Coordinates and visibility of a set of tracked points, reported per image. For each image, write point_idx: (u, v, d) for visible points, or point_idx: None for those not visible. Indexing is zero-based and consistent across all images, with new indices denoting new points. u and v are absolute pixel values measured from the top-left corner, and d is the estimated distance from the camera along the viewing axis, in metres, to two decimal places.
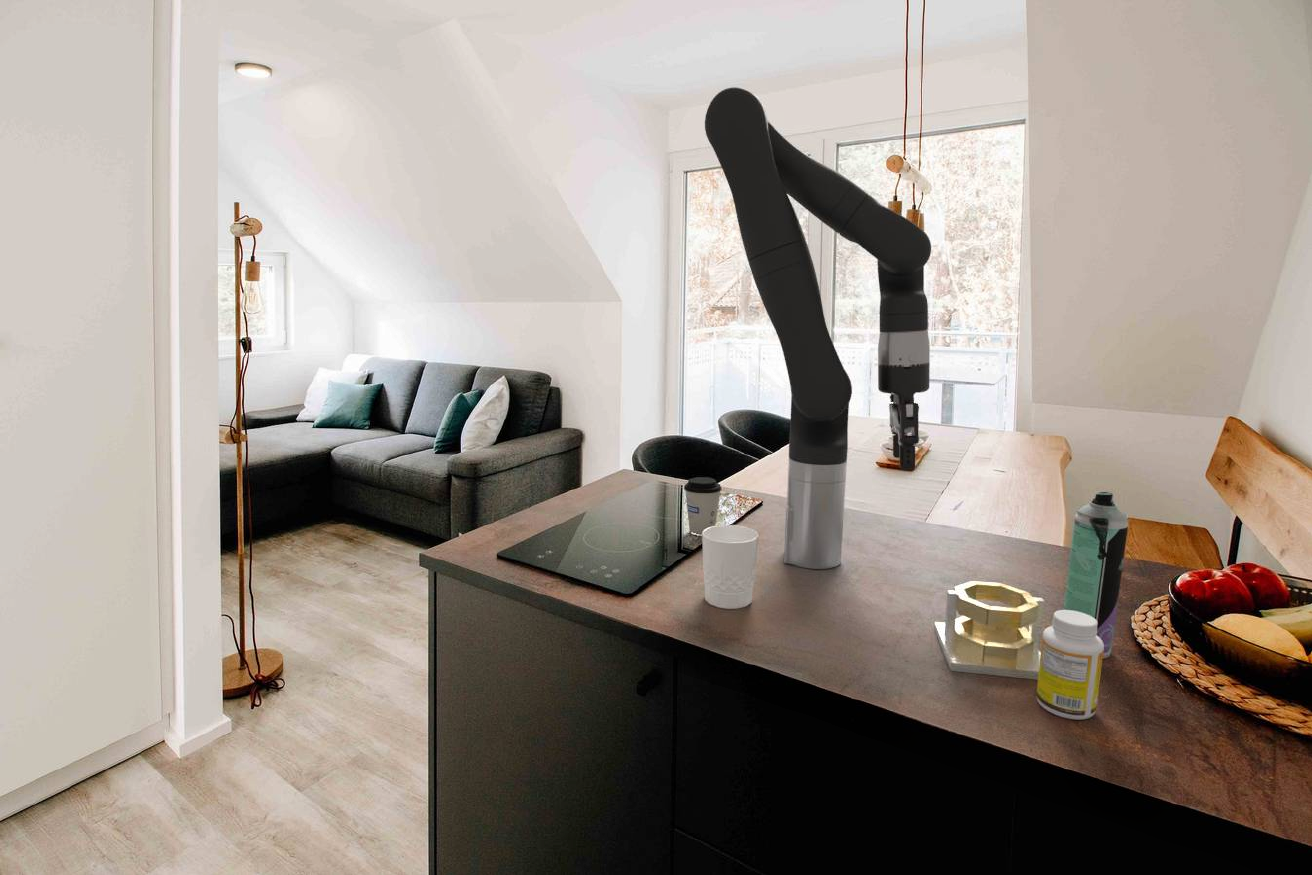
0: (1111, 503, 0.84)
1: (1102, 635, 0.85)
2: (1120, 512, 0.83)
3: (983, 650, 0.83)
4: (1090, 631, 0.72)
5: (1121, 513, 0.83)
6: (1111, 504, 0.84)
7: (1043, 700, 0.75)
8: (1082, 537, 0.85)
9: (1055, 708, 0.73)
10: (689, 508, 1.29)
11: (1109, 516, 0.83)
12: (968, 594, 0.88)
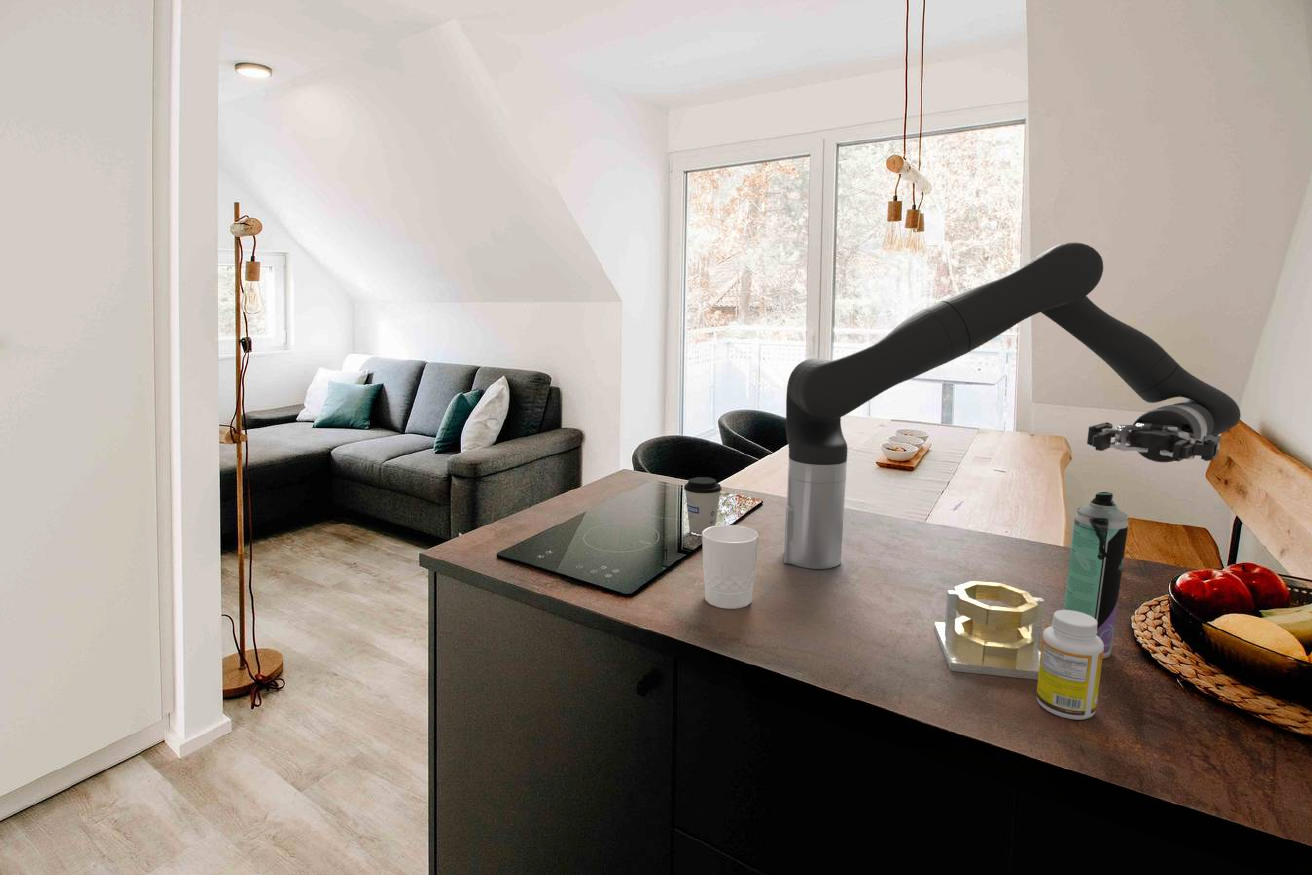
0: (1111, 503, 0.84)
1: (1102, 635, 0.85)
2: (1120, 512, 0.83)
3: (983, 650, 0.83)
4: (1090, 631, 0.72)
5: (1121, 513, 0.83)
6: (1111, 504, 0.84)
7: (1043, 700, 0.75)
8: (1082, 537, 0.85)
9: (1055, 708, 0.73)
10: (689, 508, 1.29)
11: (1109, 516, 0.83)
12: (968, 594, 0.88)
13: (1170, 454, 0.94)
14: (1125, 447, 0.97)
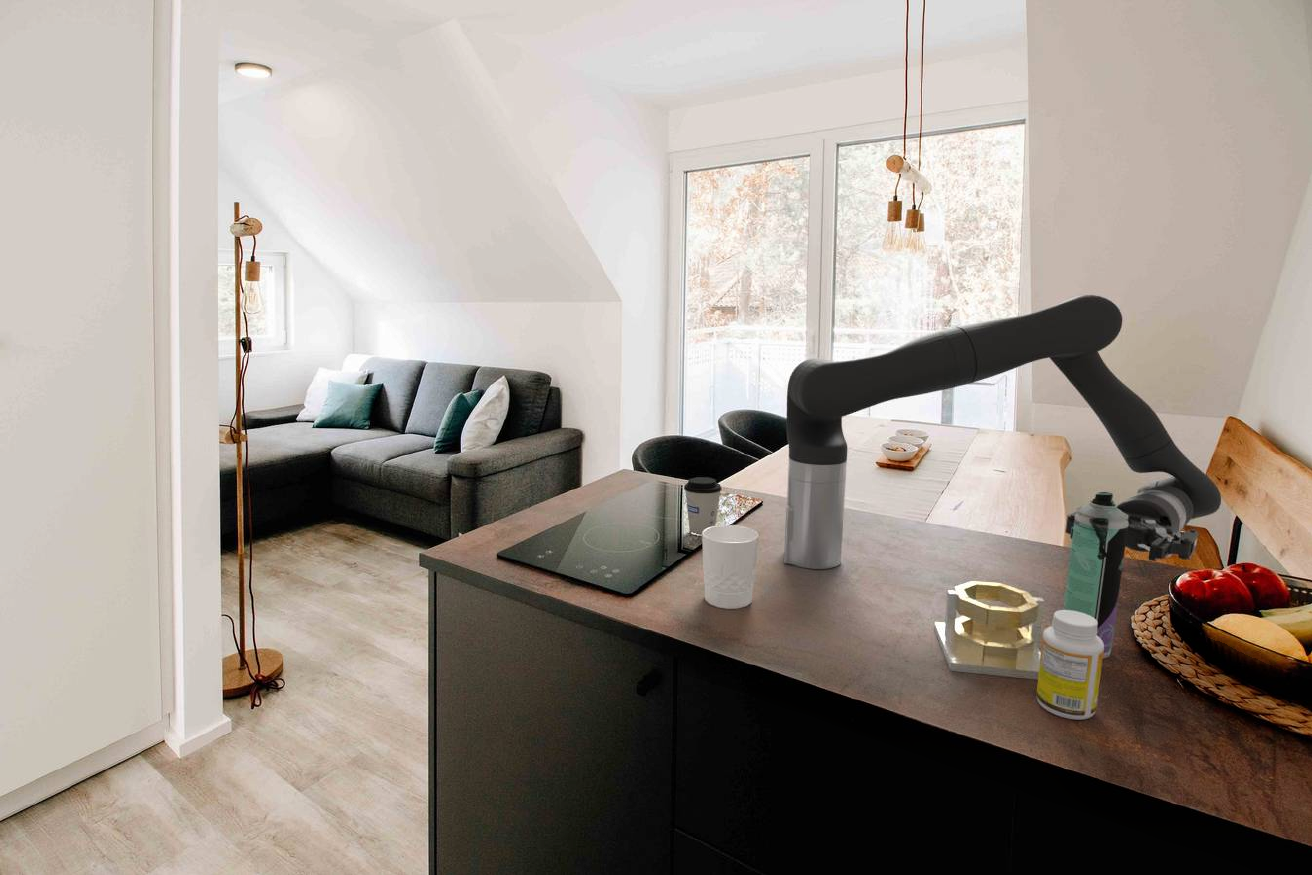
0: (1111, 503, 0.84)
1: (1102, 635, 0.85)
2: (1120, 512, 0.83)
3: (983, 650, 0.83)
4: (1090, 631, 0.72)
5: (1121, 513, 0.83)
6: (1111, 504, 0.84)
7: (1043, 700, 0.75)
8: (1082, 537, 0.85)
9: (1055, 708, 0.73)
10: (689, 508, 1.29)
11: (1109, 516, 0.83)
12: (968, 594, 0.88)
13: (1147, 548, 0.94)
14: None
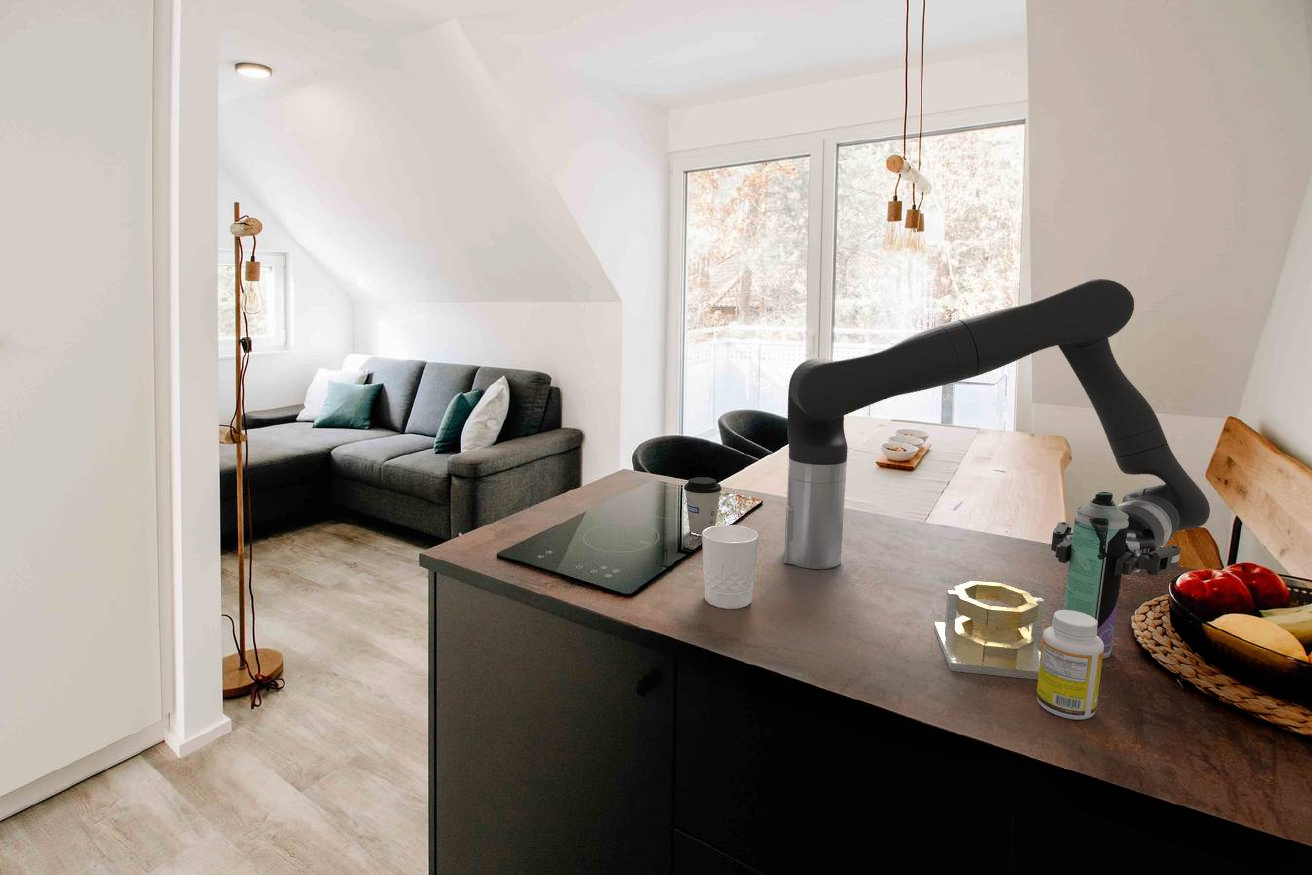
0: (1111, 503, 0.84)
1: (1102, 635, 0.85)
2: (1120, 512, 0.83)
3: (983, 650, 0.83)
4: (1090, 631, 0.72)
5: (1121, 513, 0.83)
6: (1111, 504, 0.84)
7: (1043, 700, 0.75)
8: (1082, 537, 0.85)
9: (1055, 708, 0.73)
10: (689, 508, 1.29)
11: (1109, 516, 0.83)
12: (968, 594, 0.88)
13: None
14: None
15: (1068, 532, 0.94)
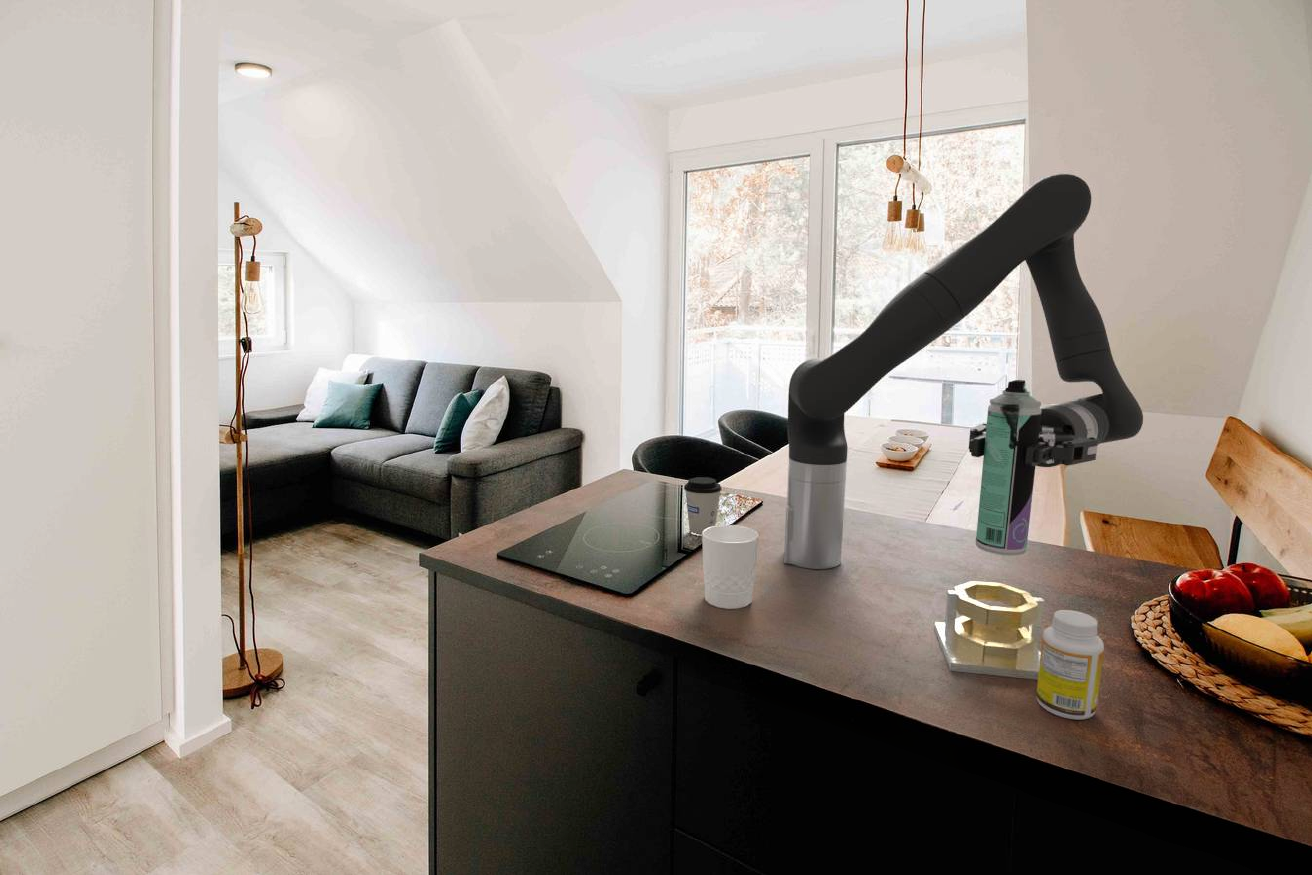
0: (1023, 390, 0.80)
1: (1015, 530, 0.81)
2: (1032, 399, 0.79)
3: (983, 650, 0.83)
4: (1090, 631, 0.72)
5: (1033, 400, 0.79)
6: (1023, 391, 0.80)
7: (1043, 700, 0.75)
8: (994, 427, 0.81)
9: (1055, 708, 0.73)
10: (689, 508, 1.29)
11: (1020, 402, 0.79)
12: (968, 594, 0.88)
13: None
14: None
15: None
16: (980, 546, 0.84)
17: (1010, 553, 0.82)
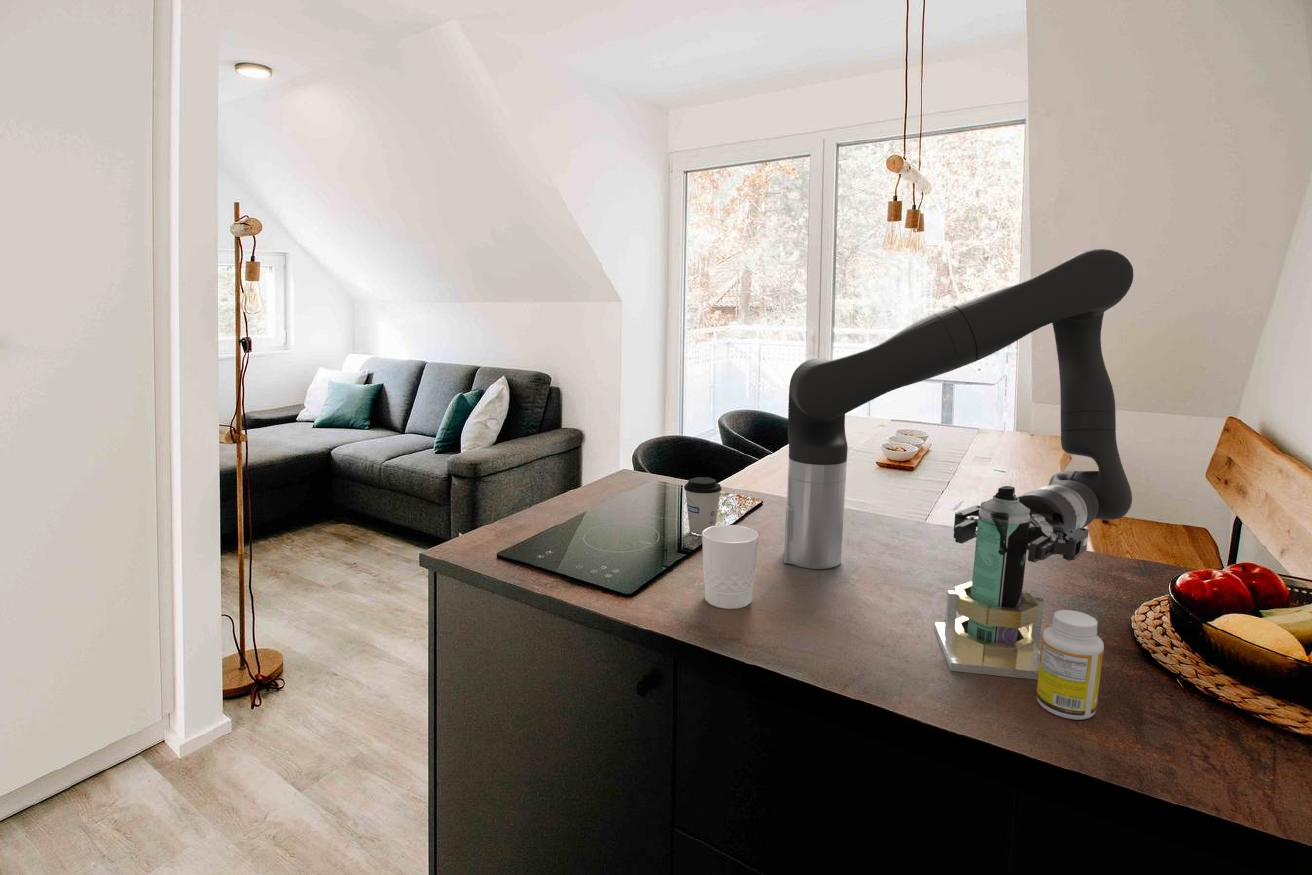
0: (1013, 497, 0.82)
1: (1005, 632, 0.83)
2: (1021, 506, 0.82)
3: (983, 650, 0.83)
4: (1090, 631, 0.72)
5: (1022, 507, 0.82)
6: (1012, 498, 0.82)
7: (1043, 700, 0.75)
8: (984, 532, 0.83)
9: (1055, 708, 0.73)
10: (689, 508, 1.29)
11: (1009, 511, 0.81)
12: (968, 594, 0.88)
13: None
14: None
15: (978, 515, 0.92)
16: None
17: None
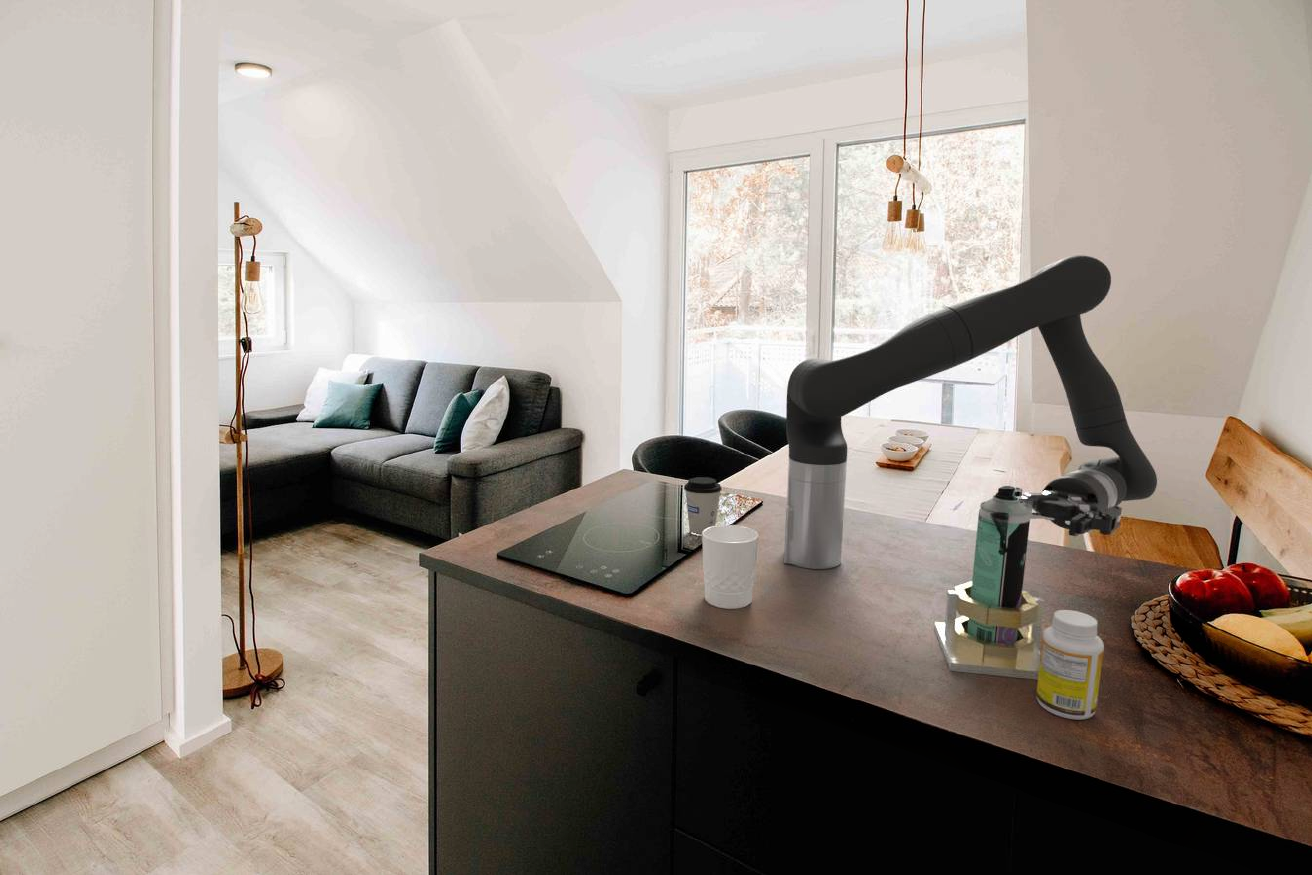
0: (1012, 497, 0.82)
1: (1005, 632, 0.83)
2: (1021, 506, 0.82)
3: (983, 650, 0.83)
4: (1090, 631, 0.72)
5: (1022, 507, 0.82)
6: (1012, 498, 0.82)
7: (1043, 700, 0.75)
8: (984, 532, 0.83)
9: (1055, 708, 0.73)
10: (689, 508, 1.29)
11: (1009, 510, 0.81)
12: (968, 594, 0.88)
13: None
14: (1031, 515, 0.98)
15: None
16: None
17: None
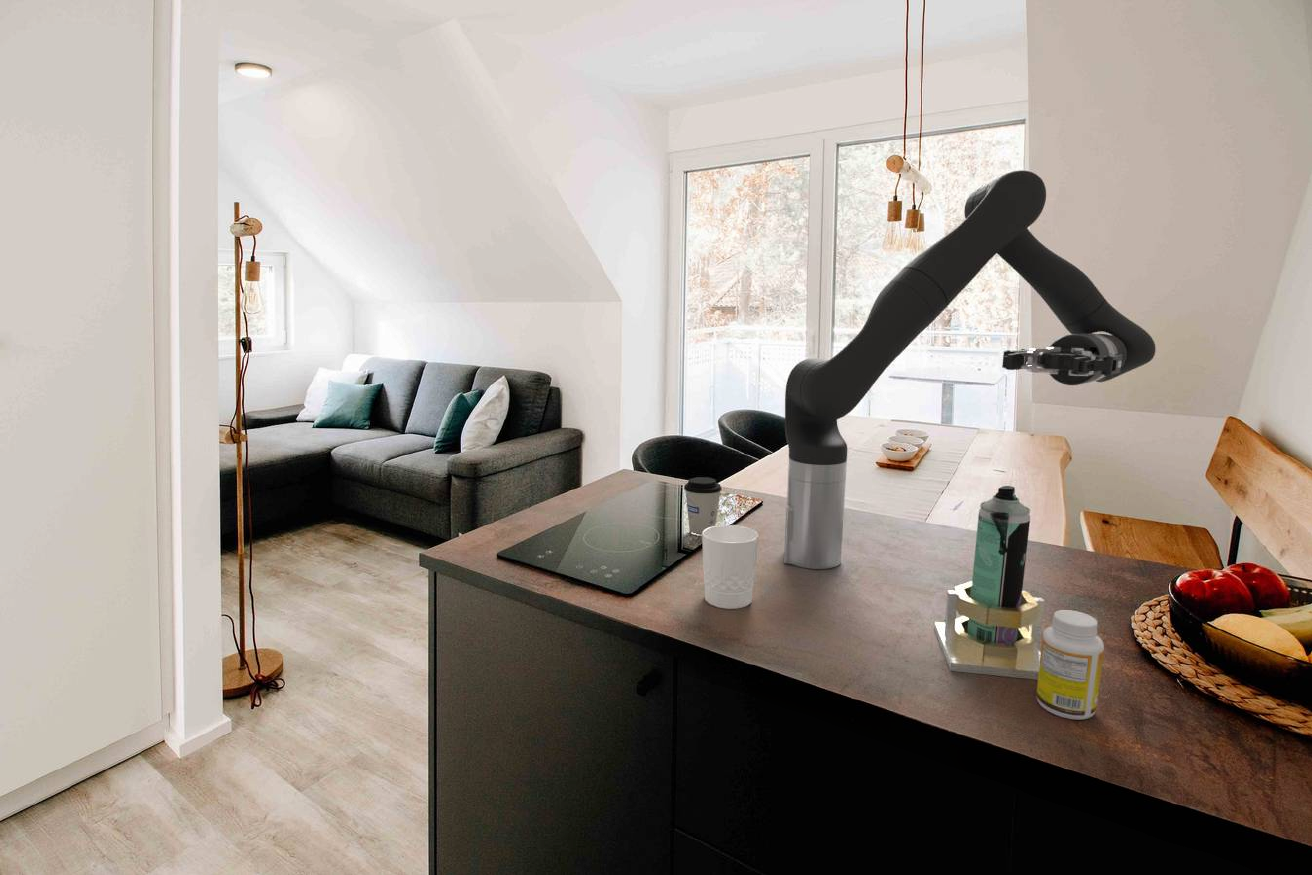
0: (1012, 497, 0.82)
1: (1005, 632, 0.83)
2: (1021, 506, 0.82)
3: (983, 650, 0.83)
4: (1090, 631, 0.72)
5: (1022, 507, 0.82)
6: (1012, 498, 0.82)
7: (1043, 700, 0.75)
8: (984, 532, 0.83)
9: (1055, 708, 0.73)
10: (689, 508, 1.29)
11: (1009, 510, 0.81)
12: (968, 594, 0.88)
13: None
14: (1036, 369, 1.03)
15: (1023, 355, 1.06)
16: None
17: None
